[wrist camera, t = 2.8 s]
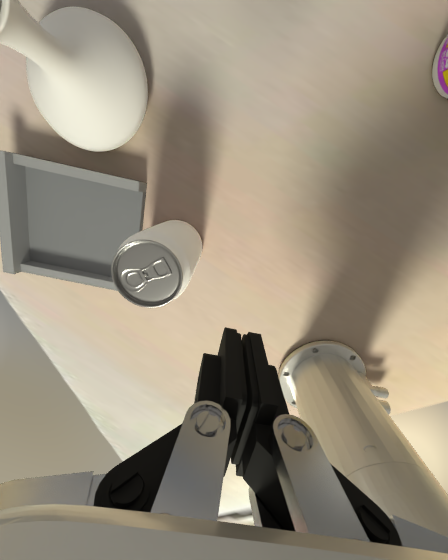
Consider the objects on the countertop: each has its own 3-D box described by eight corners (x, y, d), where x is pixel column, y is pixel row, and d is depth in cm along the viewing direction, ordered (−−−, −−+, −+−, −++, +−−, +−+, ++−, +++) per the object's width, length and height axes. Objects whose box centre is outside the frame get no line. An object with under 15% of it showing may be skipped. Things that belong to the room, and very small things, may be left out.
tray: (146, 182, 28) (135, 181, 24) (136, 286, 32) (126, 296, 29) (20, 154, 27) (-9, 148, 24) (27, 263, 31) (3, 271, 28)
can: (141, 232, 30) (88, 254, 18) (188, 210, 29) (163, 219, 17) (166, 277, 31) (132, 323, 20) (211, 258, 31) (201, 295, 19)
